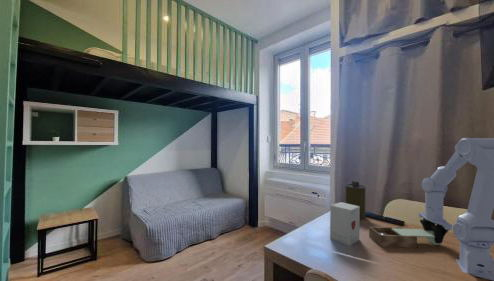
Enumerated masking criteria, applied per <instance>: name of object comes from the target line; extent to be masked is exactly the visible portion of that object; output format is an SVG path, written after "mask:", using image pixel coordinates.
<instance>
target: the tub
mask: <svg viewBox="0 0 494 281" xmlns="http://www.w3.org/2000/svg"><path fill="white" fill-rule="evenodd" d="M391 228H395V229H404V228H403V227H397V226H396V227H395V226H394V227H391V226H390V227H389V226H387V227H386V226H369V229H368V236H369V238H370V239H371V240H372V241H373V242H374V243H376V244H377V245H378V246H380V247H381V248H382V247H383V248H407V249H409V248H412V249H413V248H414V249H415V248H416V249H417V248H418V237H417V236H404V235H398V234H397V233H395V232H394V231H392V230H391ZM380 232H382V233H386V234H388V235H381V234H380Z"/></svg>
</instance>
